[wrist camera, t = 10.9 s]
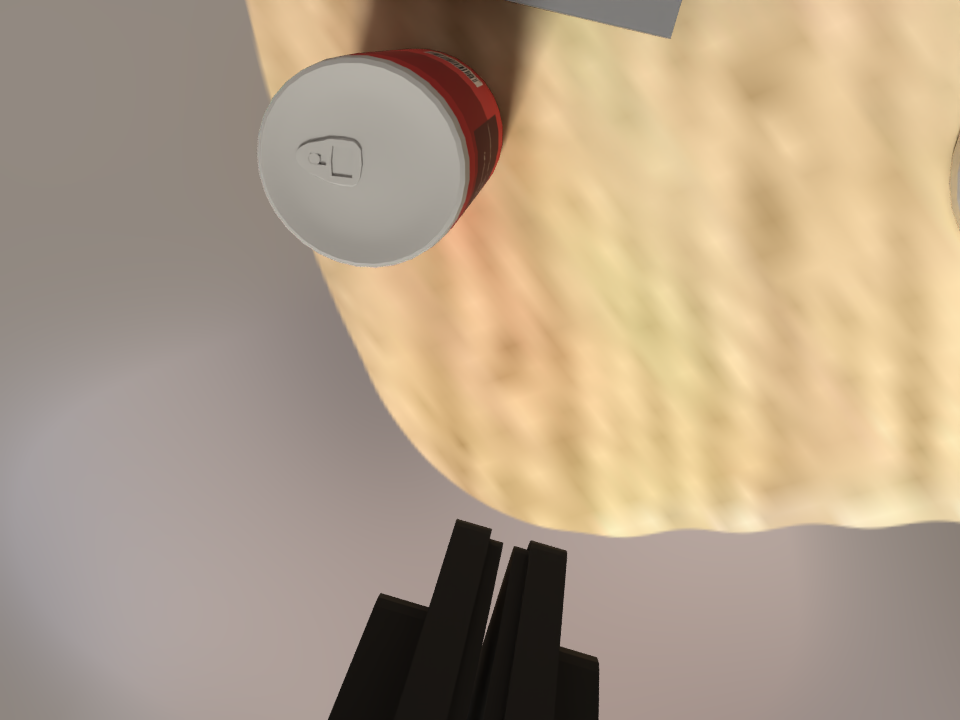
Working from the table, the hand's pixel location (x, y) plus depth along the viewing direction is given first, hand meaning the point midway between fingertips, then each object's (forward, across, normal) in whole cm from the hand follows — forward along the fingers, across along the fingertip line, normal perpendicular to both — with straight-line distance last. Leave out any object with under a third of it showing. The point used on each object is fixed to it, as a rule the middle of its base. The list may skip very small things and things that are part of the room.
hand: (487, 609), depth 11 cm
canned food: (+29, +8, -1) cm, 30 cm away
